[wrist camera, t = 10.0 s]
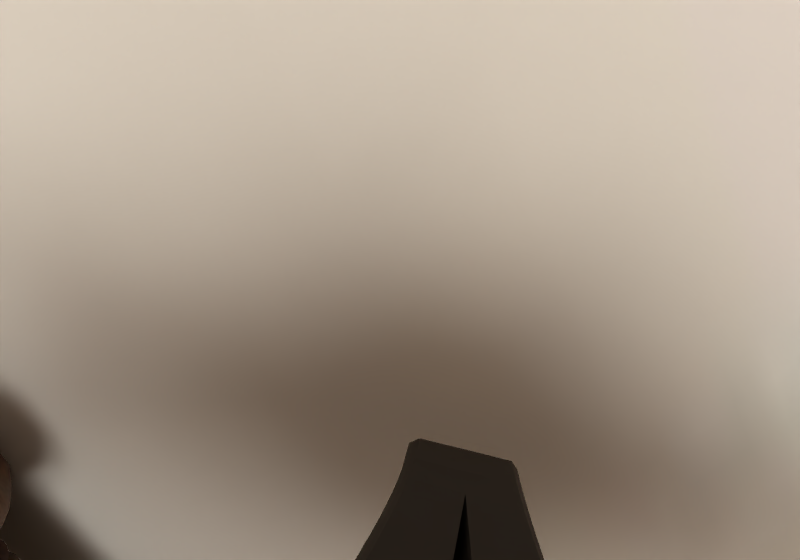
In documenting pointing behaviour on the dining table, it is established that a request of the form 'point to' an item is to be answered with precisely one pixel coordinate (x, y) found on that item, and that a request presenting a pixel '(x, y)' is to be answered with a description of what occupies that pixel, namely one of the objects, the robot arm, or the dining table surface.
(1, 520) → the bolt
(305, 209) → the dining table surface
